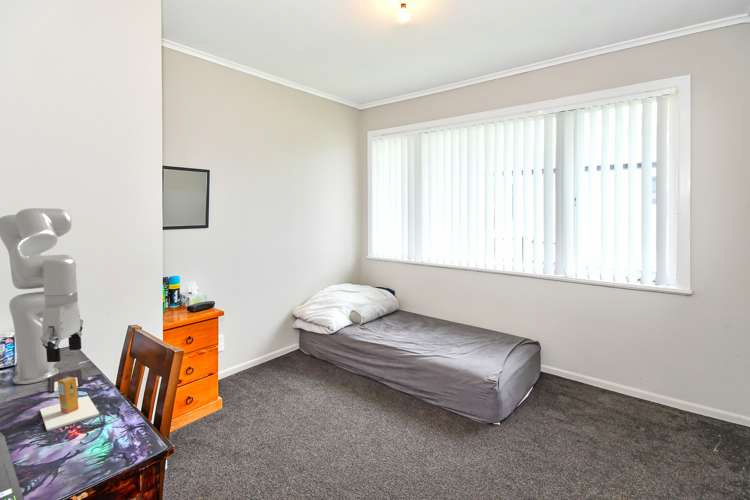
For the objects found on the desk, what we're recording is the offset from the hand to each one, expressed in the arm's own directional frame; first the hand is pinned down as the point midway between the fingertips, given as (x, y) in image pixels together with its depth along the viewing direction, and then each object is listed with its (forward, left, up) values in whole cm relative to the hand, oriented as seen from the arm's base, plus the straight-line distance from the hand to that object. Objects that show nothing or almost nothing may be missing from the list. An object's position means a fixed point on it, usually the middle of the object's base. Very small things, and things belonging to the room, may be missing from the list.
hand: (65, 355), depth 113 cm
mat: (0, 0, -18) cm, 18 cm away
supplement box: (0, 0, -18) cm, 18 cm away
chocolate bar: (-25, -15, -19) cm, 35 cm away
